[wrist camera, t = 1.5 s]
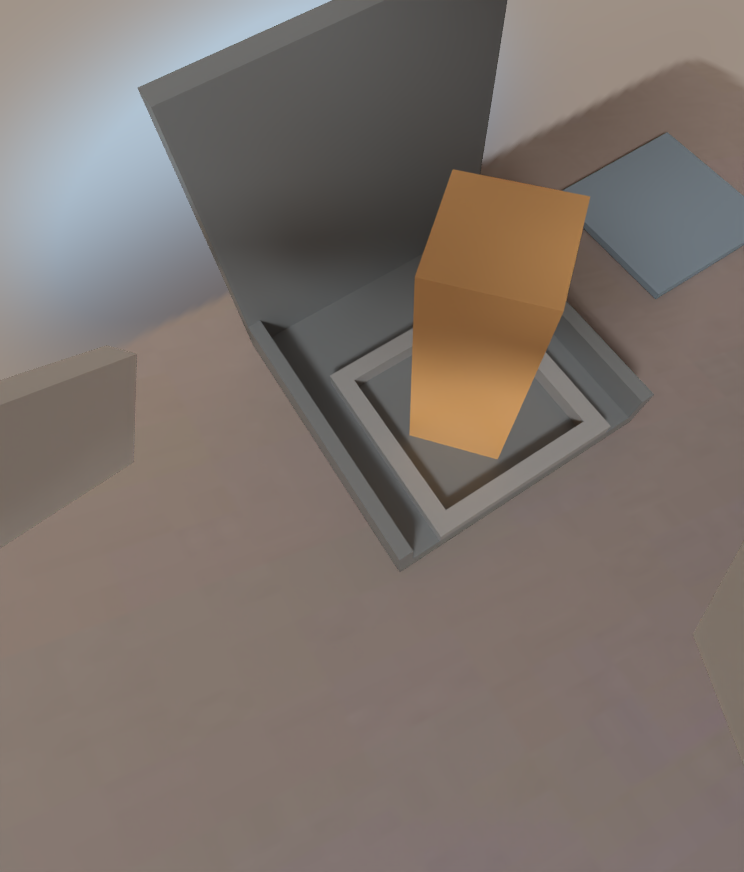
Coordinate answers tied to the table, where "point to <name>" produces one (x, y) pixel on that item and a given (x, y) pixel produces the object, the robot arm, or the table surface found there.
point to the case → (368, 245)
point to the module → (488, 305)
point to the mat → (662, 214)
